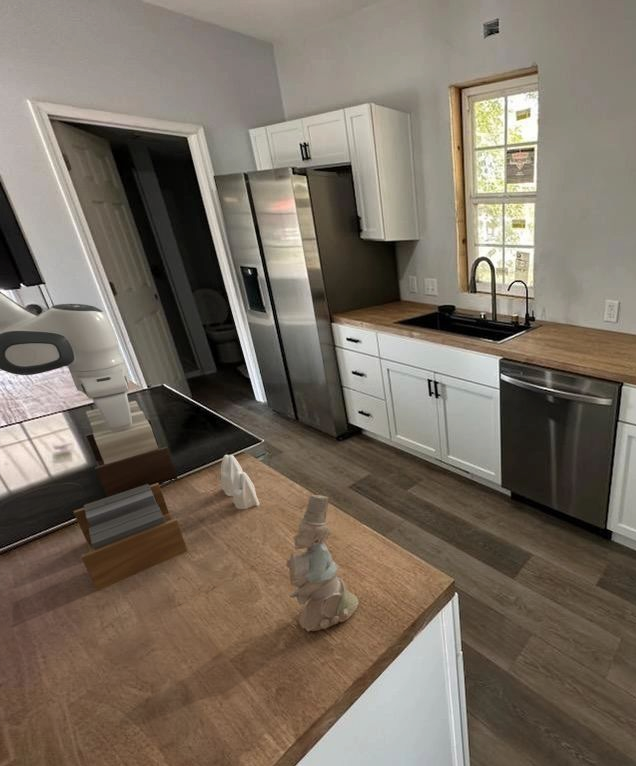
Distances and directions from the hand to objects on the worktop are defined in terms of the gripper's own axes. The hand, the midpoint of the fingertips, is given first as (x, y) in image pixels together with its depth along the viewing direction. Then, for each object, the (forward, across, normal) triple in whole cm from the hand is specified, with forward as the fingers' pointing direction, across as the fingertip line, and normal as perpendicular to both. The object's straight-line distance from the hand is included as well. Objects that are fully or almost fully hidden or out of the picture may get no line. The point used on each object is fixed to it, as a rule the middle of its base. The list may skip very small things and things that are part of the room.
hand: (122, 432), depth 96 cm
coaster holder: (+11, +34, -4) cm, 36 cm away
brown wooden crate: (+11, 0, 0) cm, 11 cm away
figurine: (+11, +71, +14) cm, 73 cm away
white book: (+9, 0, 0) cm, 9 cm away
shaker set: (+11, +31, +14) cm, 36 cm away
